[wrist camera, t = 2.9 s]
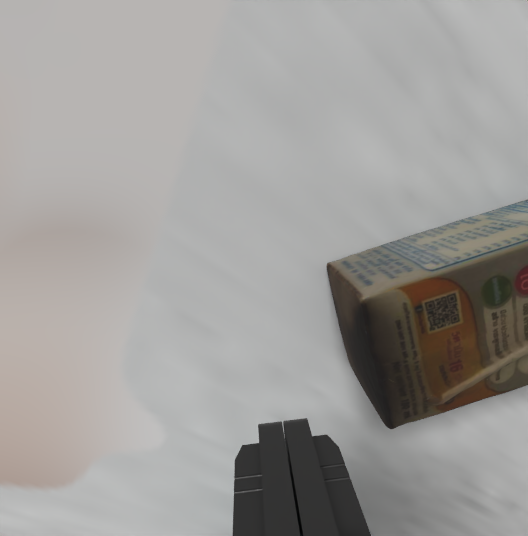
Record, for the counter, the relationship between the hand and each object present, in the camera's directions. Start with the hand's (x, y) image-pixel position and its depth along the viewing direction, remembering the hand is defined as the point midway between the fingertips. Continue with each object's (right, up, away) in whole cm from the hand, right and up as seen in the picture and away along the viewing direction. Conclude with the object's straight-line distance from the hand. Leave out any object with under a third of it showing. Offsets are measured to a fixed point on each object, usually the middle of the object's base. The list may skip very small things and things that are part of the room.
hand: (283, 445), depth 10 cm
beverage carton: (+13, +5, +11) cm, 18 cm away
